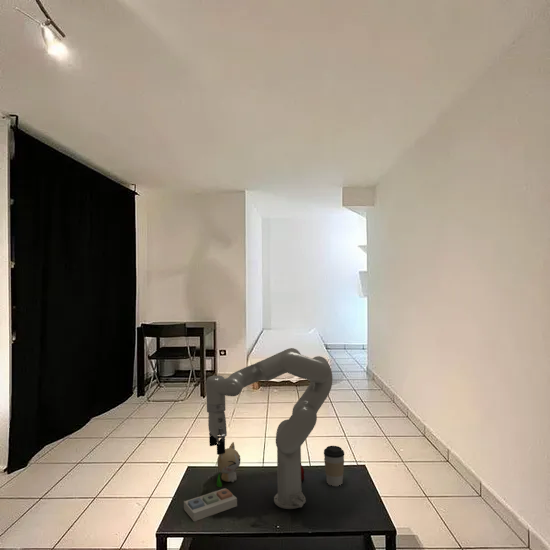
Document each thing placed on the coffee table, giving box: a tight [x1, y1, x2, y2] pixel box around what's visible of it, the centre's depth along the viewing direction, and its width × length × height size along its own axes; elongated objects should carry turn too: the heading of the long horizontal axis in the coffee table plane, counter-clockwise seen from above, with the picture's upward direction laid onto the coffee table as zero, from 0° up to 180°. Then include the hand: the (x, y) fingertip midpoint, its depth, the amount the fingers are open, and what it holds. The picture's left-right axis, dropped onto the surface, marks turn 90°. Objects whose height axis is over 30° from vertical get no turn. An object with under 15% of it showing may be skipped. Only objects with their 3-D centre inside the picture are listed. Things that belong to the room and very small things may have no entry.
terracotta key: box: [217, 488, 233, 500], centre depth 160 cm, size 5×5×2 cm
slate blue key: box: [188, 498, 204, 510], centre depth 153 cm, size 5×5×2 cm
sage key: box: [203, 492, 219, 505], centre depth 157 cm, size 5×5×2 cm
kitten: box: [216, 441, 241, 488], centre depth 179 cm, size 15×10×15 cm
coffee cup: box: [323, 445, 345, 487], centre depth 175 cm, size 9×9×15 cm
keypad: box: [183, 487, 238, 522], centre depth 156 cm, size 10×18×3 cm, turn 124°
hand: (217, 449), depth 163 cm, fingers open, 9 cm apart
